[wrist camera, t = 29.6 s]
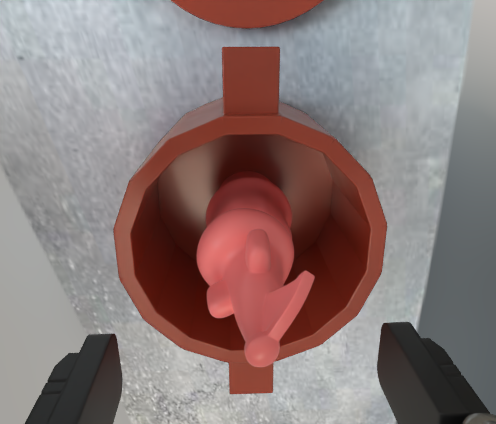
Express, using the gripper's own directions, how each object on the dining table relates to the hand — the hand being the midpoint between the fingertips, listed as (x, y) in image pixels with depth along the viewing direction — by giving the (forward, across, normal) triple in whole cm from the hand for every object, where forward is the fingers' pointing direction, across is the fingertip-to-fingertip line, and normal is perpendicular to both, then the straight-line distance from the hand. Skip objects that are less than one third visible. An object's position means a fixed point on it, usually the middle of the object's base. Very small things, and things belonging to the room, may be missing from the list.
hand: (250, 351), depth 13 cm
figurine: (+16, -1, 0) cm, 16 cm away
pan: (+16, -1, 0) cm, 16 cm away
